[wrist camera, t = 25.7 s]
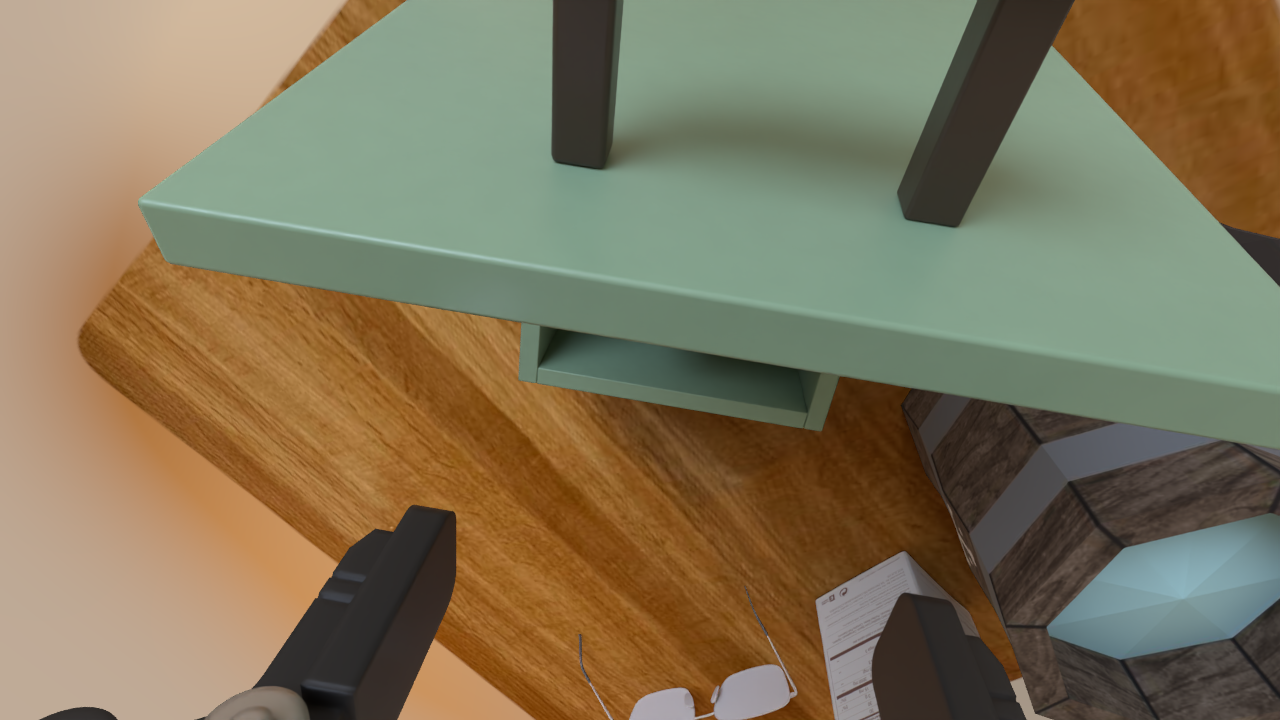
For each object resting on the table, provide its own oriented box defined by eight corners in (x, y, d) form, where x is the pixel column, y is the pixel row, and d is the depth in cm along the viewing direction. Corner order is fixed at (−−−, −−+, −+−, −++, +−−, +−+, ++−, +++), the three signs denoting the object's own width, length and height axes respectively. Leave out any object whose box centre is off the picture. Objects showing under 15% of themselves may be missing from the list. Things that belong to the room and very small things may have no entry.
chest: (798, 340, 36) (822, 432, 28) (560, 300, 36) (518, 380, 28) (897, -9, 28) (968, -16, 20) (590, -55, 28) (542, -81, 20)
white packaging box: (972, 610, 43) (1060, 816, 32) (876, 656, 46) (927, 860, 35) (905, 544, 41) (975, 741, 30) (810, 597, 44) (842, 794, 33)
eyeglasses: (626, 700, 51) (617, 748, 48) (576, 627, 49) (563, 672, 45) (795, 658, 47) (800, 707, 44) (750, 576, 45) (751, 621, 41)
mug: (1128, 504, 38) (1345, 764, 25) (887, 500, 40) (972, 742, 27) (1253, 157, 29) (1696, 278, 16) (934, 170, 31) (1098, 290, 18)
